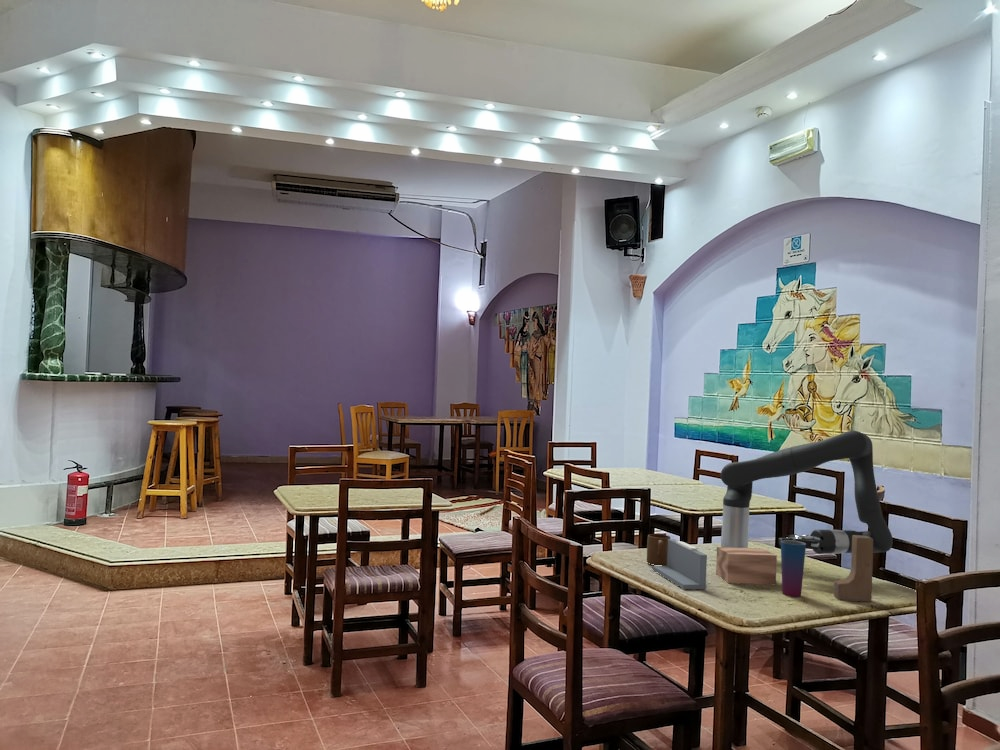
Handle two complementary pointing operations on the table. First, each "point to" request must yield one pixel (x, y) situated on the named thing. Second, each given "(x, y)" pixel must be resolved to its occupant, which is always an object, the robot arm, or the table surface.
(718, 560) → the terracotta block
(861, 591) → the wooden block
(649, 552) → the mug
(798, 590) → the cup
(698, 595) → the table surface
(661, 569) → the rail
